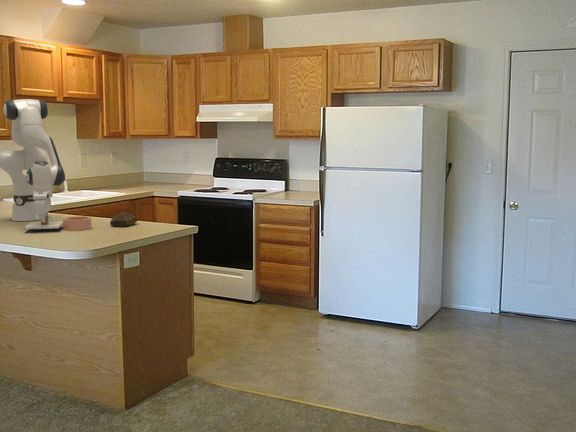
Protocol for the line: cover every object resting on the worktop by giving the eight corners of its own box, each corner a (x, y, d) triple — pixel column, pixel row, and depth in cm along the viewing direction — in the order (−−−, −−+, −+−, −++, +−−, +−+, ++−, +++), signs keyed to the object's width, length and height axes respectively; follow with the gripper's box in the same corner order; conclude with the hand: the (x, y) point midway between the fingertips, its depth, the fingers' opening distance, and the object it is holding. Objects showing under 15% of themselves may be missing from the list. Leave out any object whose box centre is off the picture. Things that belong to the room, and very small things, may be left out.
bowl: (66, 228, 332) (66, 216, 331) (92, 227, 334) (92, 216, 333) (62, 232, 319) (61, 220, 318) (89, 231, 321) (89, 219, 321)
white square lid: (31, 223, 331) (31, 214, 330) (64, 222, 333) (63, 213, 332) (24, 229, 315) (23, 219, 314) (58, 228, 318) (58, 218, 317)
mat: (31, 228, 332) (31, 227, 332) (66, 227, 335) (66, 226, 335) (23, 234, 313) (23, 233, 313) (59, 233, 316) (59, 232, 316)
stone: (108, 227, 336) (107, 216, 335) (122, 221, 349) (122, 210, 348) (125, 229, 333) (124, 218, 332) (139, 223, 346) (138, 212, 345)
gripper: (40, 191, 331) (42, 218, 333) (32, 196, 311) (33, 224, 313) (53, 191, 332) (55, 218, 334) (45, 196, 312) (47, 224, 314)
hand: (44, 221), depth 324 cm, fingers closed on white square lid, 3 cm apart
